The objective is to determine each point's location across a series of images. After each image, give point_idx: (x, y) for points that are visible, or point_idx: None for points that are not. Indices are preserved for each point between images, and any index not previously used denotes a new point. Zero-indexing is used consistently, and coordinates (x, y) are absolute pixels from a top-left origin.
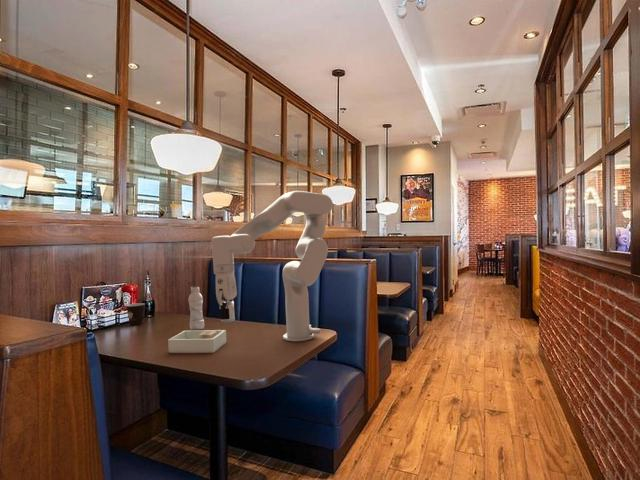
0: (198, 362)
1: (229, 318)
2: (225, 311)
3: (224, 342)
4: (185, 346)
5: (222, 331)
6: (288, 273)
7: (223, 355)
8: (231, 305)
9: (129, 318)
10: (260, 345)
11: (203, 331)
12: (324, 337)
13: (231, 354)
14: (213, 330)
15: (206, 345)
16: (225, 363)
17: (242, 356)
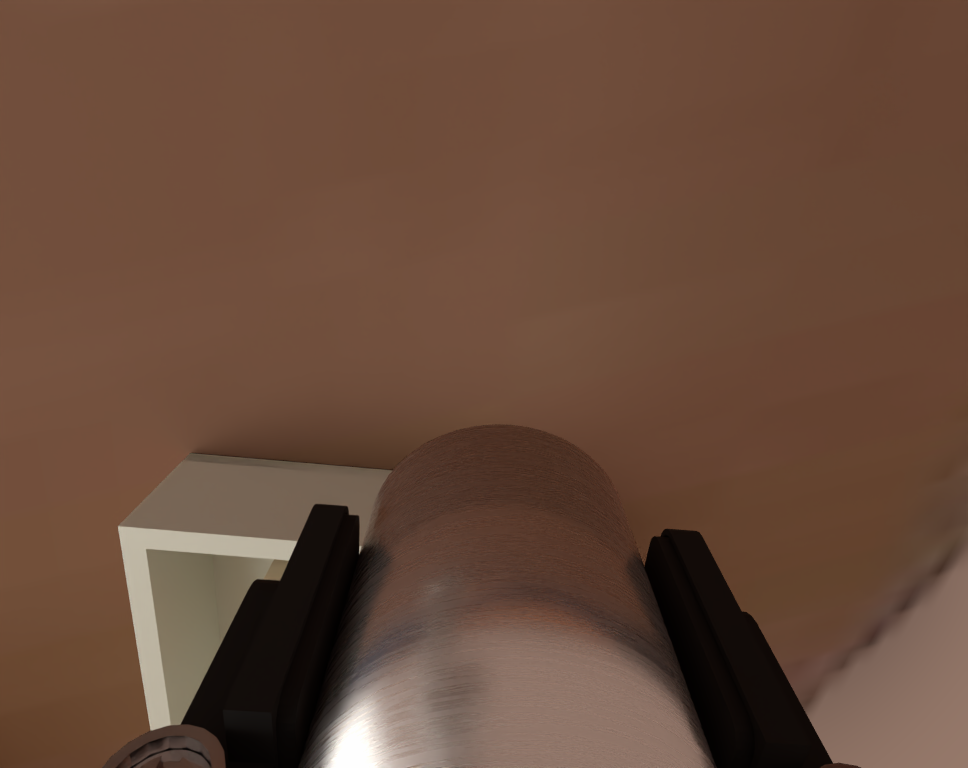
0: (782, 531)
1: (628, 531)
2: (807, 729)
3: (239, 464)
4: None
5: (189, 547)
6: None
7: (629, 376)
8: (661, 756)
9: None
10: (299, 25)
11: (175, 723)
12: None
13: (611, 306)
14: (148, 646)
15: None
16: (889, 297)
17: (706, 170)
